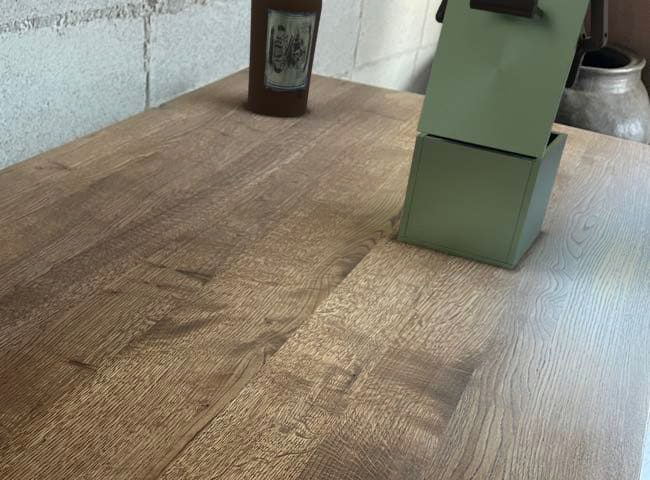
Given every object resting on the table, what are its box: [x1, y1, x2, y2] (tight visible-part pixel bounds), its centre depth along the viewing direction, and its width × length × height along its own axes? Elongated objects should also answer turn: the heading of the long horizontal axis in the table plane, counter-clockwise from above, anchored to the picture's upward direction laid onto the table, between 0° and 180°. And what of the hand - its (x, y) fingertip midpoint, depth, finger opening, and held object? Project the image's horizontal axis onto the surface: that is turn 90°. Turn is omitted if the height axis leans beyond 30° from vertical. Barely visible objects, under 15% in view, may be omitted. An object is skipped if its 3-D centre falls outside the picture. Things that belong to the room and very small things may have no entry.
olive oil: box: [246, 0, 323, 118], centre depth 138 cm, size 11×11×25 cm
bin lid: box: [416, 0, 591, 158], centre depth 91 cm, size 14×14×7 cm
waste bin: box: [397, 130, 569, 270], centre depth 105 cm, size 14×14×12 cm
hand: (500, 109), depth 100 cm, fingers closed on ink cartridge box, 10 cm apart
